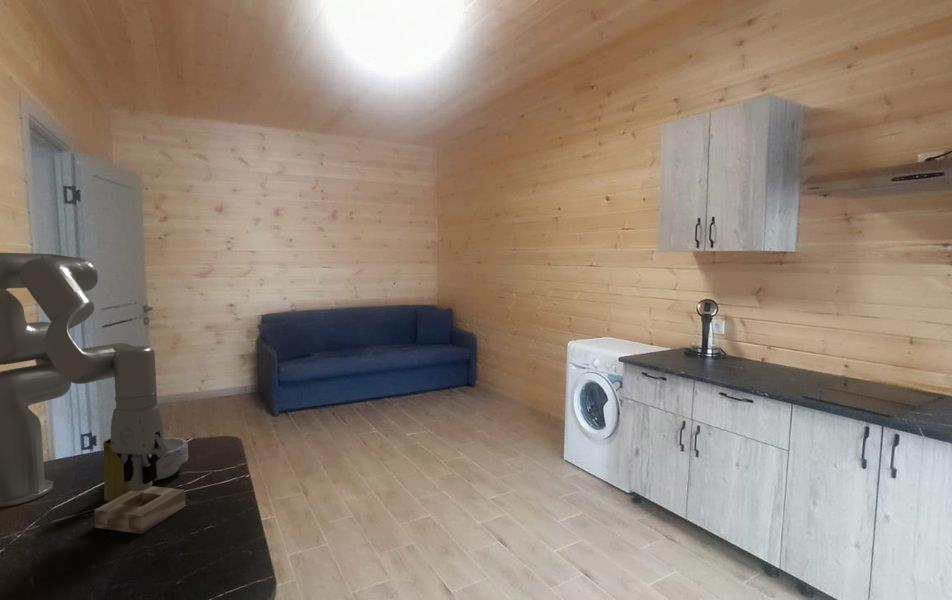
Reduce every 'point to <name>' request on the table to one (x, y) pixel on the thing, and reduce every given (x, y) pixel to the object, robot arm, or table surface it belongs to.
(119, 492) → the vase
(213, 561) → the table surface
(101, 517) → the socket block
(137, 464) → the rook chess piece
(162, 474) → the paper bowls
